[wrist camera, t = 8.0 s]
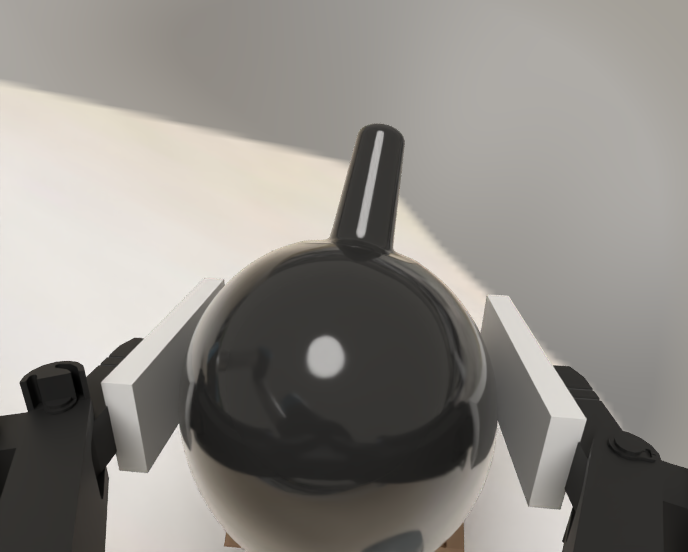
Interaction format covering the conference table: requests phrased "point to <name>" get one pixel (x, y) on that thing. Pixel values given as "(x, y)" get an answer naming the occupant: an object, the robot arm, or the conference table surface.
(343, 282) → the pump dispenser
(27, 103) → the conference table surface
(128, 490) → the conference table surface
